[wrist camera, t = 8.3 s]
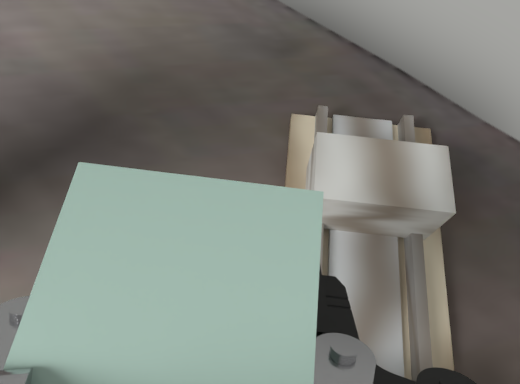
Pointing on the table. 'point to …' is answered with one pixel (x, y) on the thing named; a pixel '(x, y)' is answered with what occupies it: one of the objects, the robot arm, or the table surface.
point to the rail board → (382, 229)
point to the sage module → (175, 283)
